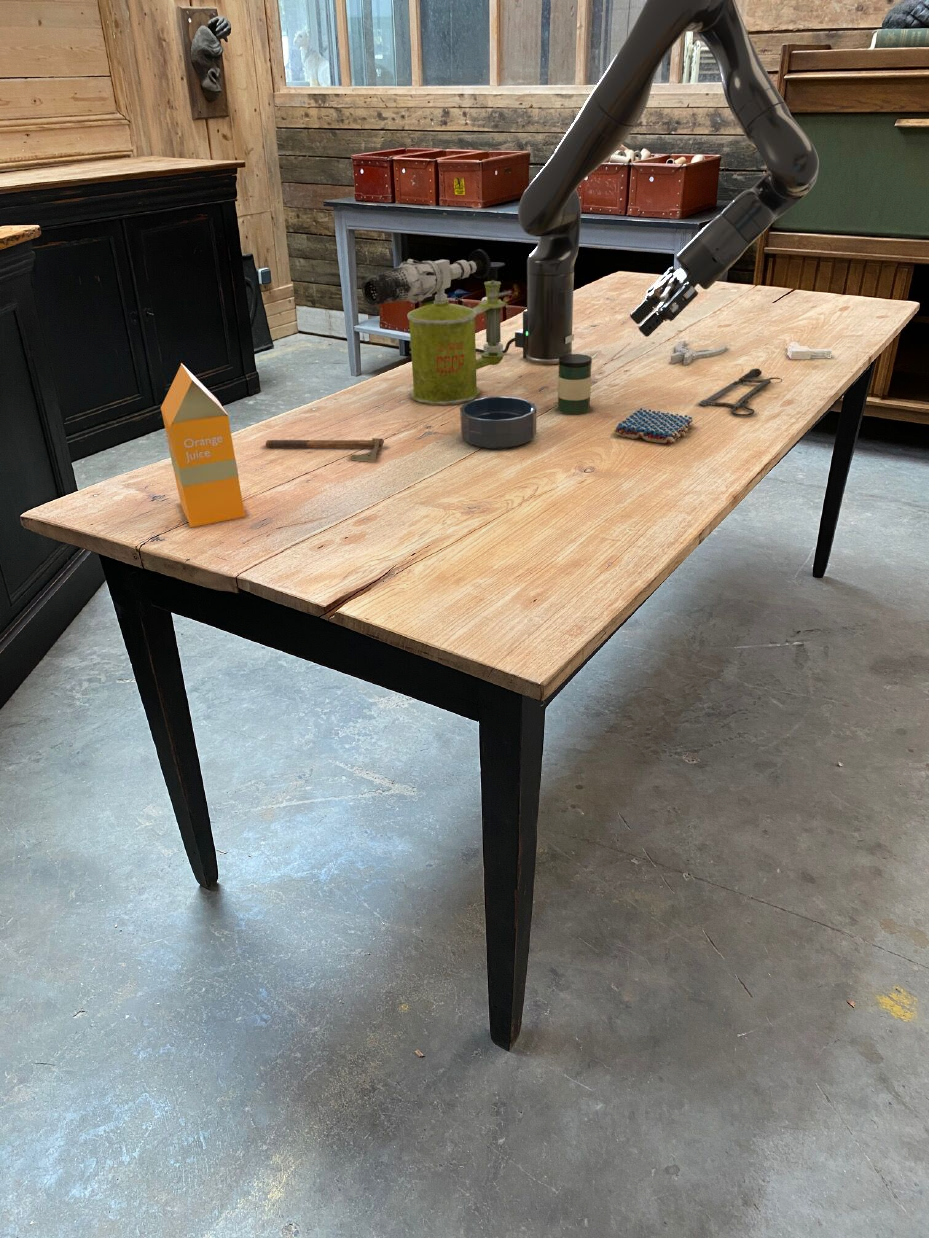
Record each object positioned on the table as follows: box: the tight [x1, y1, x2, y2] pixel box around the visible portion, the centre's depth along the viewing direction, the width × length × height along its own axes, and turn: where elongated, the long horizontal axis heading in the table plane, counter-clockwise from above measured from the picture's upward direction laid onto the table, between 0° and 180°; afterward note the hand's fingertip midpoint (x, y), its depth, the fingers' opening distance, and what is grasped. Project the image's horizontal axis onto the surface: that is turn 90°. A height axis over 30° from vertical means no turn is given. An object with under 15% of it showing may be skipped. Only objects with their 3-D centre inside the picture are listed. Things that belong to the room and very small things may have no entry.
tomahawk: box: [265, 437, 385, 463], centre depth 151 cm, size 20×7×1 cm, turn 83°
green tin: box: [557, 353, 593, 415], centre depth 163 cm, size 6×6×9 cm
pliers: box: [669, 339, 728, 366], centre depth 192 cm, size 10×2×15 cm
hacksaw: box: [698, 367, 783, 417], centre depth 169 cm, size 24×10×2 cm, turn 141°
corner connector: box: [786, 341, 832, 360], centre depth 190 cm, size 8×8×2 cm
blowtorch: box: [361, 248, 508, 406], centre depth 169 cm, size 13×33×25 cm, turn 137°
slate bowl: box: [459, 395, 538, 449], centre depth 153 cm, size 12×12×5 cm
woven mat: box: [613, 407, 694, 444], centre depth 154 cm, size 10×11×2 cm
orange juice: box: [160, 362, 246, 528], centre depth 128 cm, size 8×9×20 cm
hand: (637, 326), depth 158 cm, fingers open, 8 cm apart
